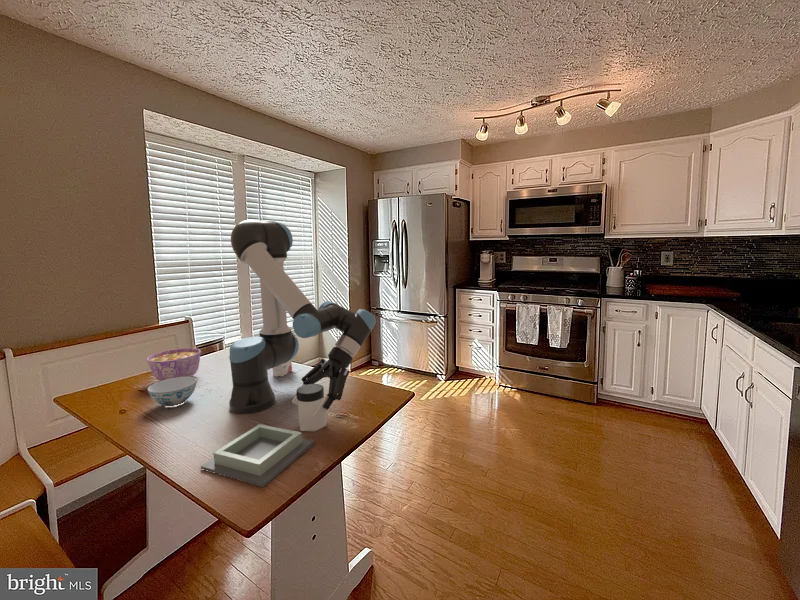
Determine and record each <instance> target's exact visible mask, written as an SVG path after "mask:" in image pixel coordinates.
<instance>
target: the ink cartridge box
mask: <svg viewBox="0 0 800 600" xmlns="http://www.w3.org/2000/svg"><path fill="white" fill-rule="evenodd" d="M291 370H292V371H293V366H292V359H291V360H289V361H288V362H286V363H284V364H281V365H278V366H276V367H273V368H272V377H278V376H283V377H285V376H286V375H288V374H289V373H290V372H292V371H291ZM288 372H289V373H288ZM284 375H285V376H284Z"/></svg>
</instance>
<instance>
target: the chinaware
mask: <svg viewBox="0 0 800 600" xmlns="http://www.w3.org/2000/svg"><path fill="white" fill-rule="evenodd" d="M196 386H197V378H195V377H193V376H192V377H177V378H171V379H166V380H163V381H158V382H154V383H153V384H151V385H150V386H148V387H147V392H148V394H149V395H150V396H149V397H150V398H151V399H152V400H153V402H156V403H158V404H159V405H162V406H164V405H165V406H174V405H178V404H181V403H183V402H185V401H186V402H187V400H188V399H189V398H190V397H191V396H192V395H193V394H194V392H195V389H196Z"/></svg>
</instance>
